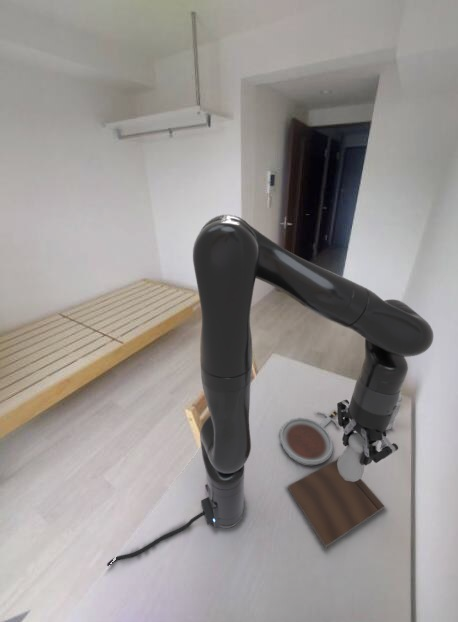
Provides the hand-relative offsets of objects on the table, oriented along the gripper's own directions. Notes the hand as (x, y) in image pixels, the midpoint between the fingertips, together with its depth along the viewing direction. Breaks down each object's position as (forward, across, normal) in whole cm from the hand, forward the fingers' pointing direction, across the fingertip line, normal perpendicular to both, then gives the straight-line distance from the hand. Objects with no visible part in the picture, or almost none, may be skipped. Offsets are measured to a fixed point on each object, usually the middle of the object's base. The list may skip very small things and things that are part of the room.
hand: (355, 452), depth 61 cm
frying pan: (+24, -21, +10) cm, 33 cm away
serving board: (+24, -2, +1) cm, 24 cm away
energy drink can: (+24, -14, +34) cm, 44 cm away
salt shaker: (+8, 0, 0) cm, 8 cm away
